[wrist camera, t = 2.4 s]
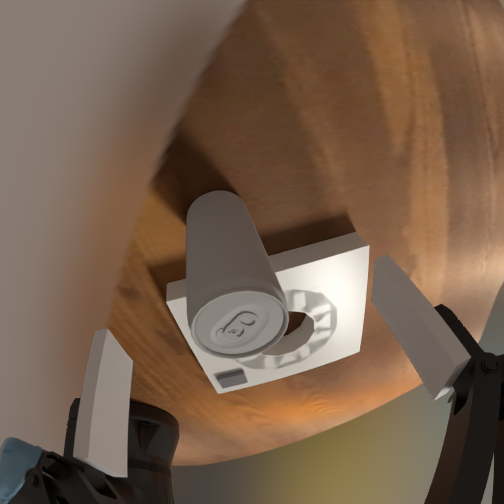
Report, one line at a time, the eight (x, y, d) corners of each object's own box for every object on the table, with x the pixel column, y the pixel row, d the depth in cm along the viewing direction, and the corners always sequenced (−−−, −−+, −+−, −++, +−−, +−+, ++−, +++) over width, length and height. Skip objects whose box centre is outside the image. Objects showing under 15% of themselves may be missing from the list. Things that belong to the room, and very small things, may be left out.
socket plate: (216, 377, 34) (219, 397, 32) (167, 283, 25) (165, 306, 23) (351, 337, 35) (361, 355, 33) (356, 231, 26) (372, 248, 24)
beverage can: (174, 223, 23) (167, 340, 13) (211, 175, 21) (232, 268, 11) (222, 252, 25) (247, 370, 15) (259, 209, 23) (312, 314, 13)
